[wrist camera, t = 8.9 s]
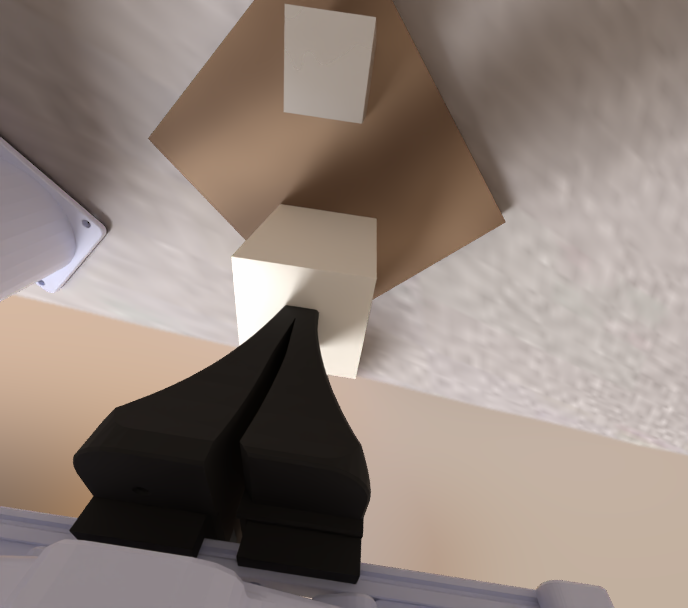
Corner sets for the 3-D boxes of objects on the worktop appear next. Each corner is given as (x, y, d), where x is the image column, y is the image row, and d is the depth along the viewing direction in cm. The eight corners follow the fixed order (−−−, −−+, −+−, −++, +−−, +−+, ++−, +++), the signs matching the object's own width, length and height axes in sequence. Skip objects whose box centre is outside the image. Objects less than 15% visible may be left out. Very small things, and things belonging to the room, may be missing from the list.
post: (308, 108, 14) (283, 112, 10) (312, 32, 12) (284, 3, 9) (365, 117, 14) (361, 123, 10) (376, 42, 12) (376, 17, 9)
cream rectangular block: (279, 286, 19) (240, 361, 14) (280, 203, 16) (231, 256, 11) (361, 299, 19) (355, 379, 14) (376, 218, 16) (376, 278, 11)
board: (159, 136, 16) (148, 138, 15) (339, -92, 11) (336, -108, 10) (329, 316, 21) (327, 325, 21) (499, 215, 17) (505, 222, 16)
